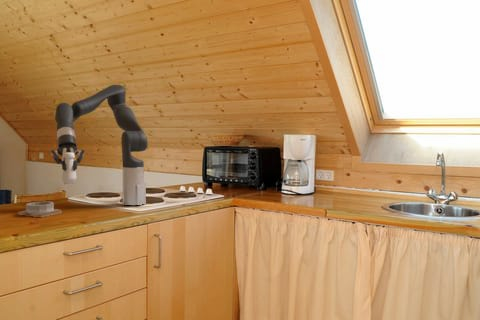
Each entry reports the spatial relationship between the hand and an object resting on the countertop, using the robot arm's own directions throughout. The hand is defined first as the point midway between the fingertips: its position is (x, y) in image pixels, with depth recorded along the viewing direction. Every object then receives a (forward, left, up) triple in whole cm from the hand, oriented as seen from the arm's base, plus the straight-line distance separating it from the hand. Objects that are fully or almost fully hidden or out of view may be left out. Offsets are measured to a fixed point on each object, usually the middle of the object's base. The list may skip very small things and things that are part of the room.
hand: (69, 169), depth 166 cm
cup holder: (+5, +10, -17) cm, 21 cm away
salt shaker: (+2, -1, -6) cm, 7 cm away
